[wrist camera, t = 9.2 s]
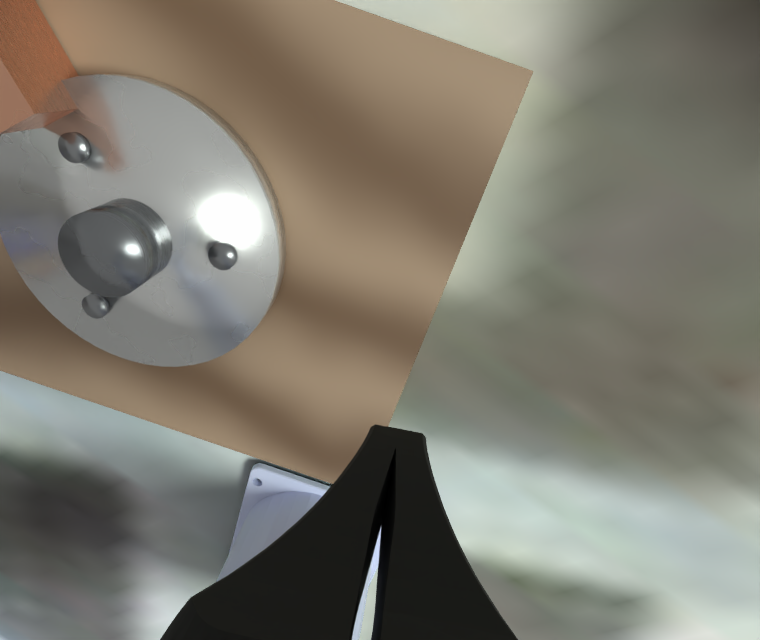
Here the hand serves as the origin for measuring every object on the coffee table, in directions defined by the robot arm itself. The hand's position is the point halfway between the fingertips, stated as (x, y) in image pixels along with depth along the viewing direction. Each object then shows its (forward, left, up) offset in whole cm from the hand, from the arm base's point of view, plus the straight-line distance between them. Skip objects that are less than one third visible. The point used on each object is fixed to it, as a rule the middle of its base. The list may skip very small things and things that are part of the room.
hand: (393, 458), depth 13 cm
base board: (0, +11, -9) cm, 14 cm away
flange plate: (+2, +12, -8) cm, 15 cm away
